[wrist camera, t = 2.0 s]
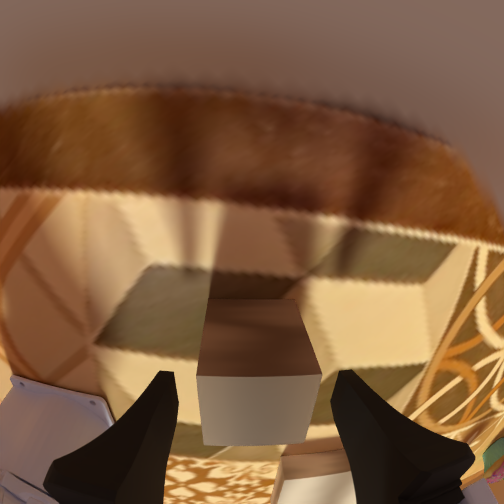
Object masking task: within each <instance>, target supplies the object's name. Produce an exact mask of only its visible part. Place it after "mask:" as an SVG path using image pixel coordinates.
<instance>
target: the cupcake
mask: <svg viewBox="0 0 504 504" xmlns="http://www.w3.org/2000/svg"><path fill="white" fill-rule="evenodd" d="M483 460H484V474H483V478H485V480H486V482H487V483H489V484H490V483H494V482H498V481H500V480H502V479H504V437H502V438H500V439H499V440H497V441H496V442H495V443H493V444H492V445H491V446H490V447H489V448H488V449H487V450H486V451H485V452H484V454H483Z"/></svg>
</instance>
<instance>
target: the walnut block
mask: <svg viewBox="0 0 504 504" xmlns="http://www.w3.org/2000/svg"><path fill="white" fill-rule="evenodd" d="M321 378H322V372H321V369H320V366H319V363H318V361H317V358H316V355H315V353H314V350H313V347H312V344H311V342H310V339H309V336H308V334H307V331H306V328H305V326H304V323H303V320H302V318H301V315H300V312H299V310H298V307H297V304H296V302H295V299H211V298H208V304H207V310H206V316H205V322H204V328H203V335H202V341H201V347H200V354H199V360H198V367H197V374H196V379H197V389H198V399H199V408H200V416H201V425H202V433H203V440H204V445H217V446H263V445H284V444H297V443H304V441H305V438H306V434H307V431H308V427H309V424H310V420H311V417H312V413H313V409H314V406H315V402H316V398H317V394H318V390H319V386H320V382H321Z"/></svg>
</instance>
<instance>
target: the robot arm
mask: <svg viewBox="0 0 504 504" xmlns="http://www.w3.org/2000/svg"><path fill="white" fill-rule="evenodd" d="M10 380H11V382H12V384H13V387H12V388H11V390H10V391H9V393H8V394H7V395H6V397H5V398H4V400H3V401H2V403H1V404H0V504H163V498H164V485H165V474H166V467H167V461H168V457H169V453H170V448H171V444H172V440H173V436H174V432H175V428H176V423H177V415H178V406H179V401H178V395H177V389H176V383H175V377H174V372H171V371H159V372H158V373H157V374H156V376H155V377H154V379H153V380H152V381H151V383H150V384H149V386H148V387H147V388H146V389H145V391H144V392H143V393H142V394H141V396H140V397H139V398H138V399H137V400H136V402H135V403H134V404H133V405H132V406H131V407H130V408H129V409H128V410H127V411H126V412H125V414H124V415H123V416H122V417H121V418H120V419H118V420H117V421H116V422H115V423H114V420H113V418H112V416H111V413H110V411H109V408H108V406H107V403H106V401H105V400H104V399H103V398H102V397H99V396H94V395H89V394H84V393H80V392H75V391H71V390H66V389H62V388H58V387H54V386H50V385H46V384H43V383H39V382H35V381H32V380H29V379H25V378H22V377H19V376H16V375H12V376H11V377H10ZM330 402H331V407H332V412H333V417H334V421H335V424H336V427H337V430H338V432H339V435H340V438H341V441H342V444H343V446H344V449H345V452H346V455H347V458H348V461H349V464H350V469H351V474H352V479H353V484H354V490H355V496H356V504H498V502H497V500H496V498H495V496H494V495H493V493H492V491H491V489H490V487H489V485H488V484H487V482H486V480H485V478H482V479H480V480H478V481H477V482H475V483H473V484H471V485H470V486H468V487H466V488H464V489H463V490H462V491H461V489H460V487H459V486H461V485H462V482H461V480H460V477H461V476H462V475H463V474H464V473H465V472H466V471H467V470H468V469H469V468H470V467H471V466H472V464H473V463H474V461H475V455H474V454H473V452H472V450H471V449H470V447H469V445H468V444H467V443H463V442H460V441H456V440H453V439H450V438H447V437H444V436H442V435H439V434H437V433H434V432H432V431H430V430H428V429H426V428H424V427H422V426H420V425H418V424H417V423H415V422H413V421H412V420H410V419H409V418H407V417H405V416H404V415H402V414H401V413H400V412H398V411H397V410H396V409H394V408H393V407H392V406H391V405H389V404H388V403H387V402H386V401H385V400H383V399H382V398H381V397H380V396H379V395H378V394H377V393H376V392H374V391H373V390H372V389H371V388H370V387H369V386H368V385H367V384H366V383H365V382H364V381H363V380H362V379H361V378H360V377H359V376H358V375H357V374H356V373H355V372H354V371H353V370H341V371H339V373H338V377H337V380H336V384H335V387H334V391H333V394H332V397H331V401H330Z"/></svg>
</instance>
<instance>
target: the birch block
mask: <svg viewBox="0 0 504 504" xmlns="http://www.w3.org/2000/svg"><path fill="white" fill-rule="evenodd" d="M270 499H271V504H356V496H355V490H354V484H353V479H352V474H351V469H350V464H349V461H348V458H347V455H346V452H345V449H341V450H335V451H328V452H320V453H312V454H302V455H291V456H281V458H280V462H279V466H278V471H277V475H276V479H275V483H274V487H273V491H272V495H271V498H270Z"/></svg>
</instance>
